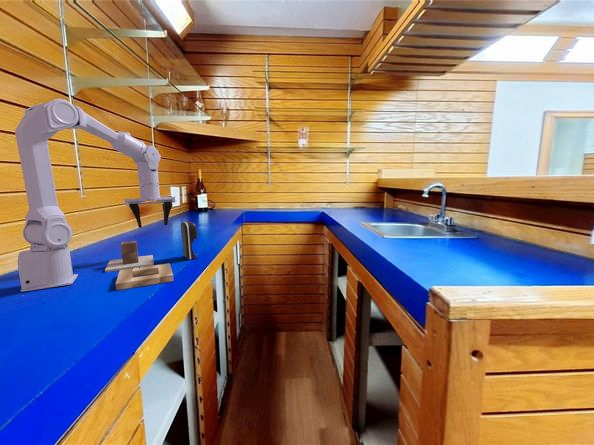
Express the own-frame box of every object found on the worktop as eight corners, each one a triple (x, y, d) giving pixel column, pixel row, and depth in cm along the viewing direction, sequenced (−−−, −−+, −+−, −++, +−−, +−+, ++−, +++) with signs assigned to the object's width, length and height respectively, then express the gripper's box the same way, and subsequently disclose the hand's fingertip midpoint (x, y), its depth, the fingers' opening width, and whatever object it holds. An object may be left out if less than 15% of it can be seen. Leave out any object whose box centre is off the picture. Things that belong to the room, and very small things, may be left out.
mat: (105, 272, 81) (104, 270, 81) (110, 262, 92) (109, 260, 91) (153, 265, 86) (153, 263, 86) (152, 256, 97) (152, 254, 97)
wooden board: (116, 290, 67) (115, 284, 67) (120, 275, 77) (119, 270, 77) (173, 280, 72) (173, 275, 72) (170, 268, 83) (169, 263, 82)
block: (123, 264, 86) (120, 244, 85) (123, 261, 89) (121, 242, 88) (138, 262, 88) (136, 242, 87) (138, 259, 91) (136, 240, 90)
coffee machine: (200, 258, 93) (197, 222, 91) (187, 260, 91) (184, 223, 89) (195, 254, 99) (192, 220, 97) (183, 256, 97) (180, 221, 95)
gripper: (123, 184, 88) (128, 230, 90) (175, 183, 95) (179, 225, 97) (122, 185, 93) (127, 227, 95) (171, 183, 101) (174, 222, 103)
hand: (153, 226), depth 97 cm, fingers open, 7 cm apart
